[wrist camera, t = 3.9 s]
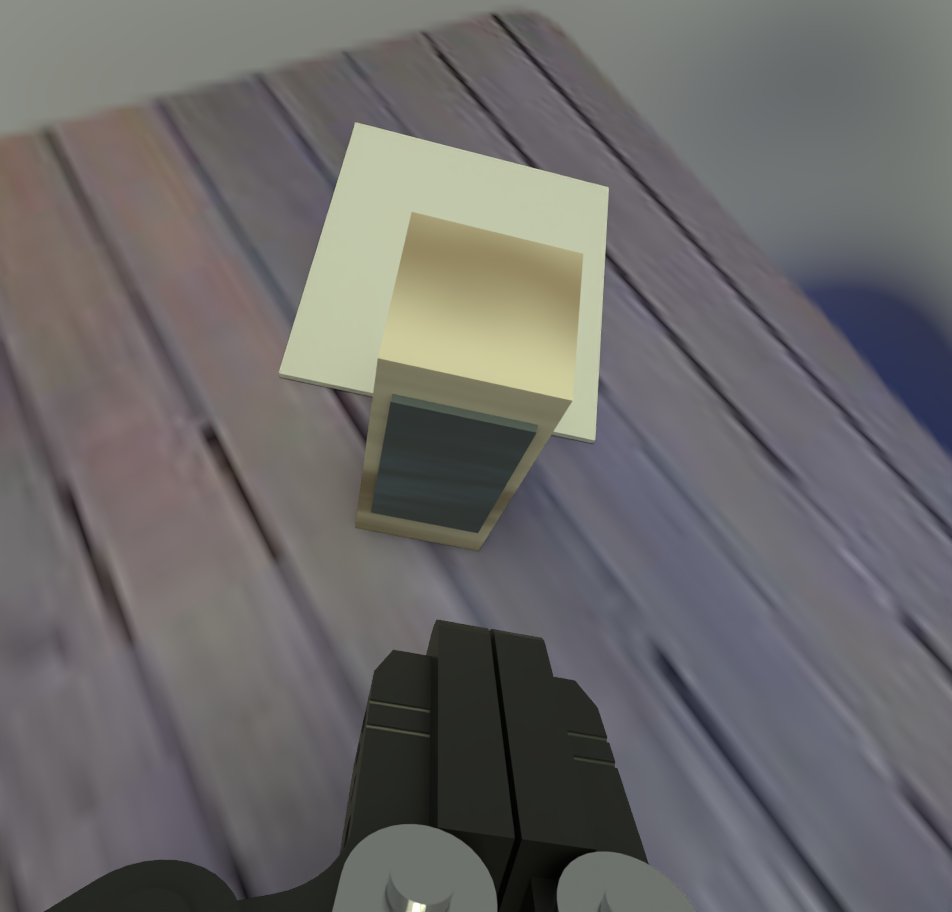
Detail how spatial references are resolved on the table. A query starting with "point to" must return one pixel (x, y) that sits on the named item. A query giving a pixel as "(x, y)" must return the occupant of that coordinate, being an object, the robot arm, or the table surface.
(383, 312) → the cream mat
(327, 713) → the table surface
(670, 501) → the table surface
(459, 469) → the birch block
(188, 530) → the table surface
